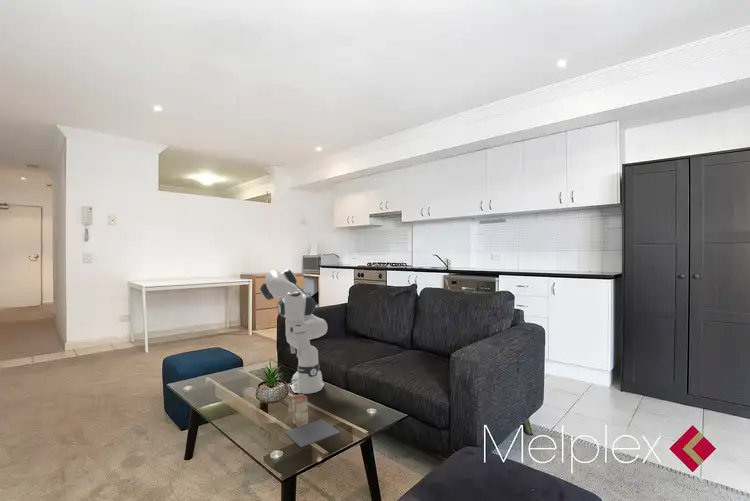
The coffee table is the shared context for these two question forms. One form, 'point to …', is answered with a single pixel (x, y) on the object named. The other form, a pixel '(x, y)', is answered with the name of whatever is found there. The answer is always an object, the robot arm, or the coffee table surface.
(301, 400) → the birch block
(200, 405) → the coffee table surface
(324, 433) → the rubber mat
